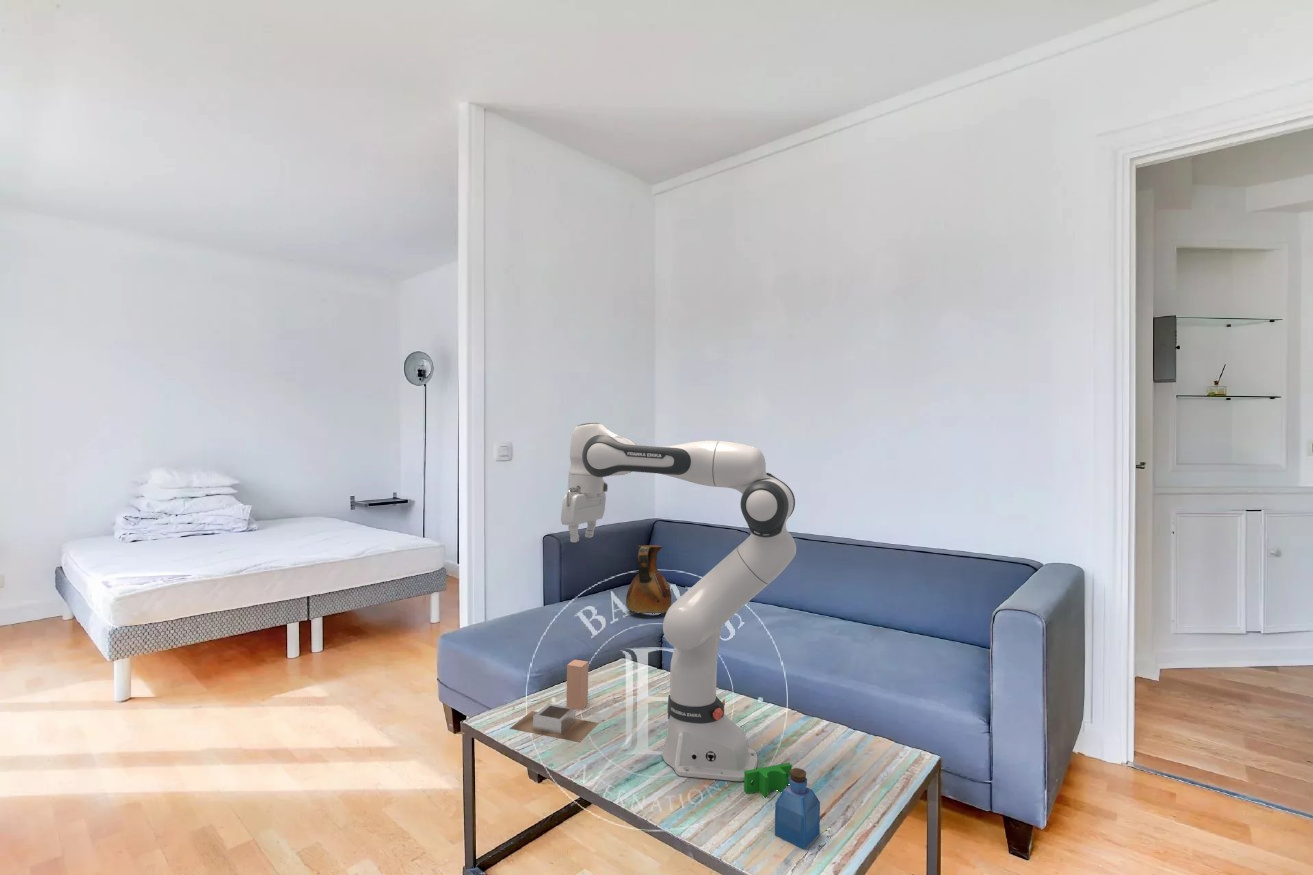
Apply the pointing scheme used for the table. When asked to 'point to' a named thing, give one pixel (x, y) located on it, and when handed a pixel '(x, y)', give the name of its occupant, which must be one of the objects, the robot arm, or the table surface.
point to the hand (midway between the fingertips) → (582, 539)
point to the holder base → (572, 733)
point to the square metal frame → (554, 719)
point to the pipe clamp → (767, 779)
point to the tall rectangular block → (577, 684)
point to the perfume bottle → (797, 811)
